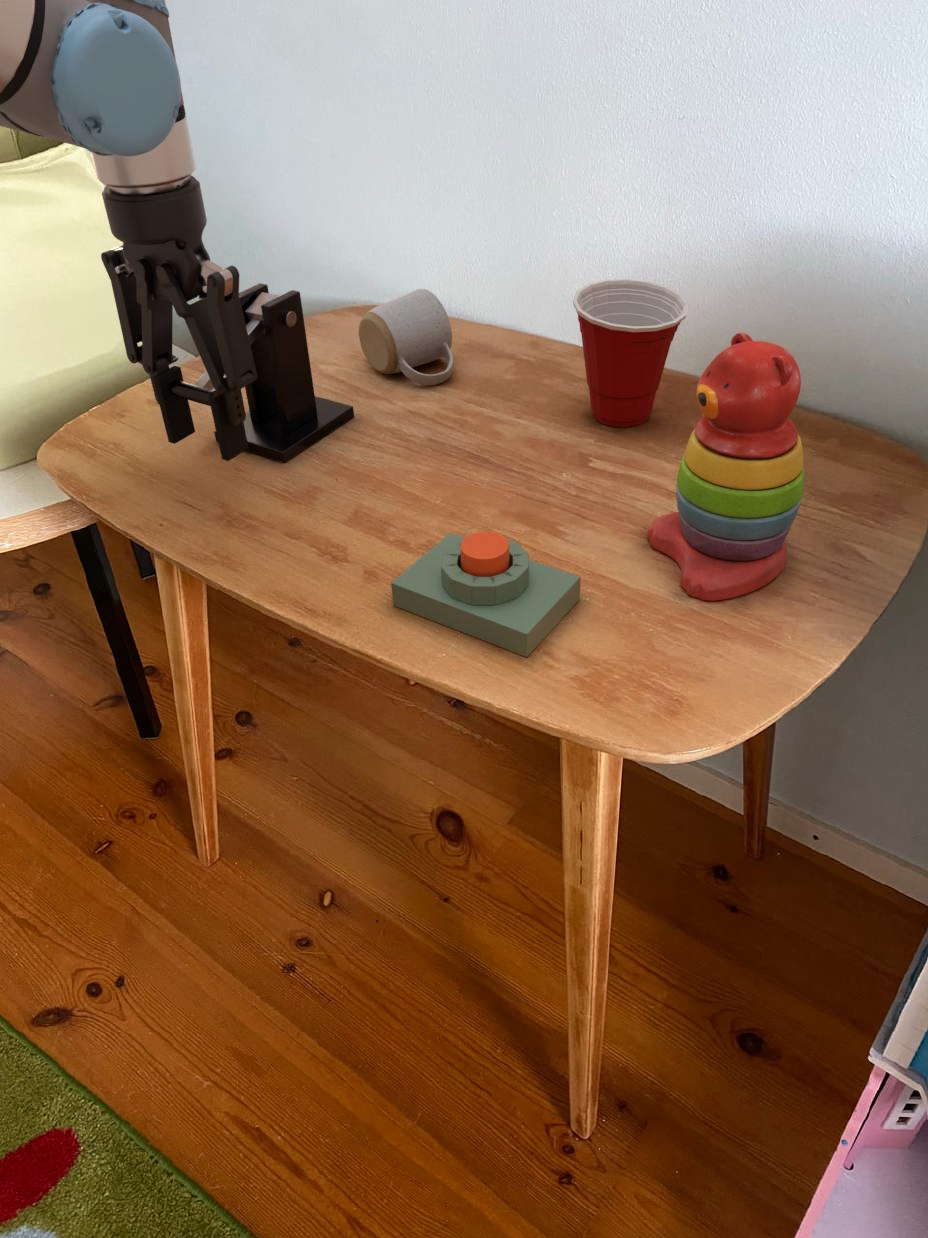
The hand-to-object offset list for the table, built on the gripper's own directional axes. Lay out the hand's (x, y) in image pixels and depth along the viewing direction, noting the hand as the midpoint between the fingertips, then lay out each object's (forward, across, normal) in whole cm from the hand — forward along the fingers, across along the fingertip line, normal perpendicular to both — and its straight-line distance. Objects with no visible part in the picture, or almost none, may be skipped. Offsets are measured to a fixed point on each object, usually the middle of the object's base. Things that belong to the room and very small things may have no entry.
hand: (208, 444), depth 91 cm
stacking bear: (+3, -46, -10) cm, 47 cm away
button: (-1, -33, +4) cm, 33 cm away
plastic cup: (+3, -28, -29) cm, 41 cm away
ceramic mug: (+3, -3, -28) cm, 29 cm away
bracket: (+3, 0, -10) cm, 11 cm away
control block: (+3, -33, +4) cm, 33 cm away
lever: (-6, 0, -6) cm, 8 cm away
